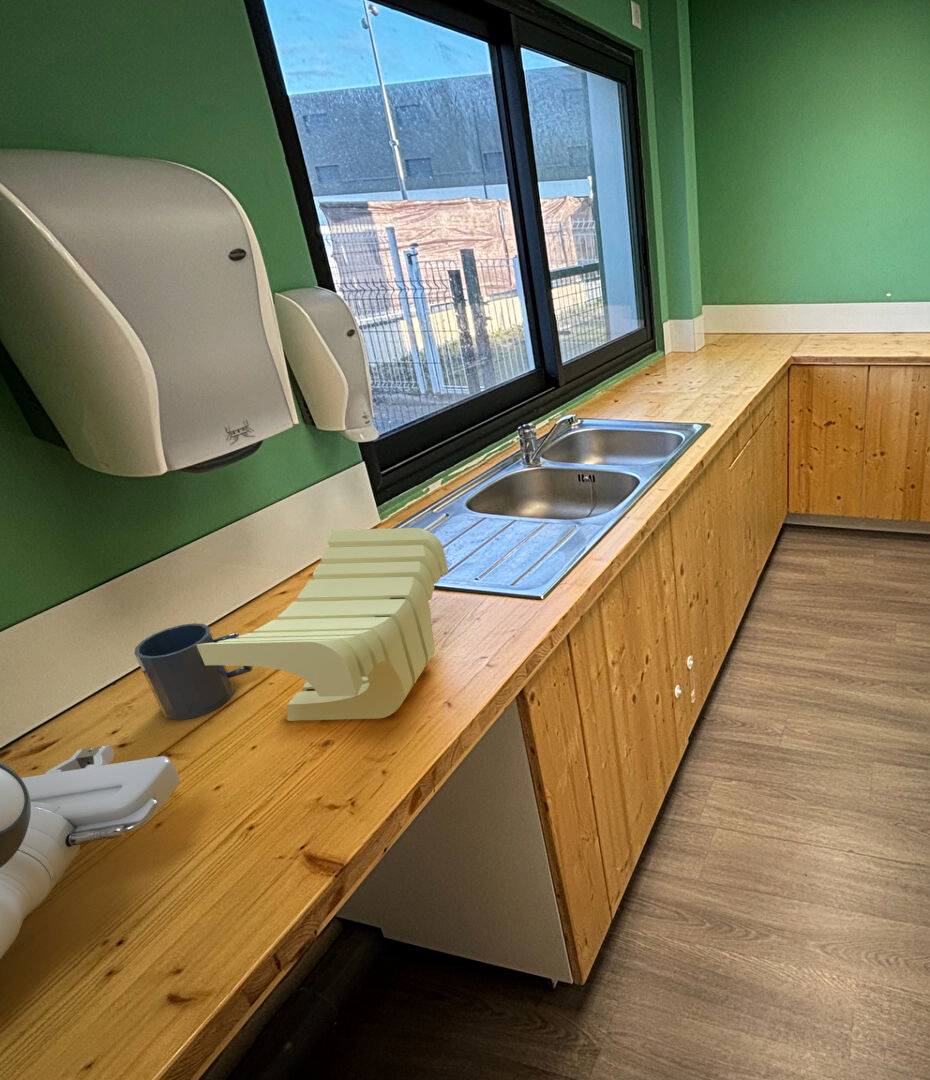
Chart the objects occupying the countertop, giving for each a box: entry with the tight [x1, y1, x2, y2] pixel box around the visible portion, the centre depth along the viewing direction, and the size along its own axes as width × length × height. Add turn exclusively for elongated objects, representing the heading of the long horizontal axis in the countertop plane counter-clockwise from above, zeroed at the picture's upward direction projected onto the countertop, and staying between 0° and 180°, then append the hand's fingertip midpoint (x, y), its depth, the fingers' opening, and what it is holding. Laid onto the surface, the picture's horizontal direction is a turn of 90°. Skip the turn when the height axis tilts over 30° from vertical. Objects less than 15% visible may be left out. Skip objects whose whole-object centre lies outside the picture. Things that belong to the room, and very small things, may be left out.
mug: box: [134, 622, 253, 721], centre depth 95 cm, size 11×8×10 cm
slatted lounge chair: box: [196, 527, 450, 722], centre depth 94 cm, size 30×16×18 cm, turn 0°
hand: (97, 751), depth 77 cm, fingers closed
